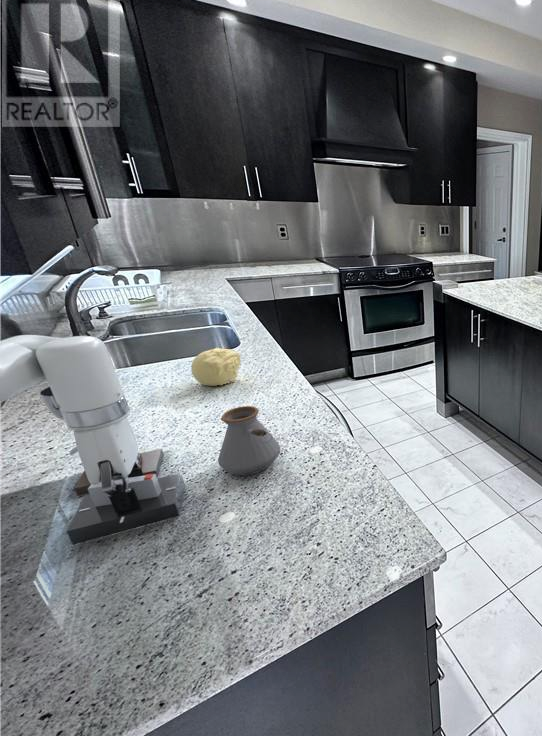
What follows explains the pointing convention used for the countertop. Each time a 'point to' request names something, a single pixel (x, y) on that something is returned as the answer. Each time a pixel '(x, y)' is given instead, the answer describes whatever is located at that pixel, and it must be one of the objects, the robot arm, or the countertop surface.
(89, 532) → the dark grey flat block
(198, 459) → the countertop surface
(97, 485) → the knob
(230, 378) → the pale yellow lumpy ball
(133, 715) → the countertop surface
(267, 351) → the countertop surface
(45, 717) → the countertop surface
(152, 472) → the switch block
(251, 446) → the coffee pot
